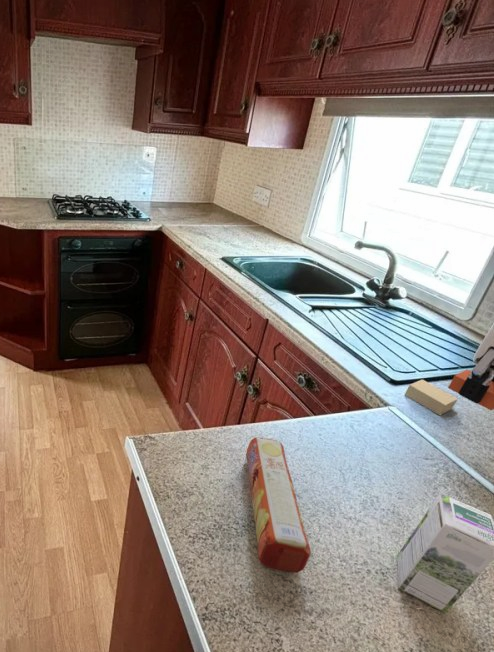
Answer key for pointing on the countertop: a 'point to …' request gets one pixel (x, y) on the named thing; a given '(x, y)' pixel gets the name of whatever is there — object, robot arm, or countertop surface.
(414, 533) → the syrup box
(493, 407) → the terracotta pad
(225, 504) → the countertop surface
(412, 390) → the sand pad
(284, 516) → the snack package
